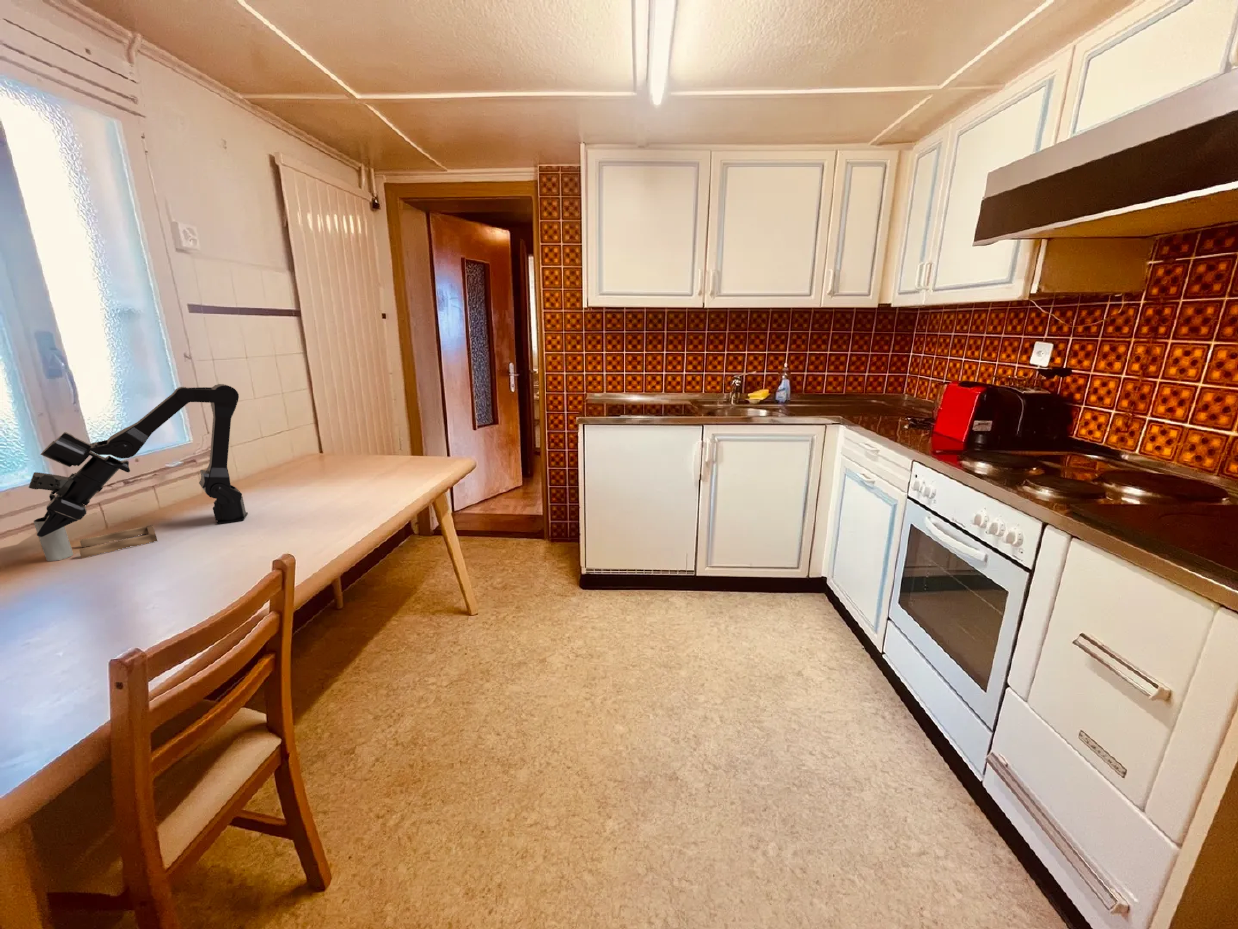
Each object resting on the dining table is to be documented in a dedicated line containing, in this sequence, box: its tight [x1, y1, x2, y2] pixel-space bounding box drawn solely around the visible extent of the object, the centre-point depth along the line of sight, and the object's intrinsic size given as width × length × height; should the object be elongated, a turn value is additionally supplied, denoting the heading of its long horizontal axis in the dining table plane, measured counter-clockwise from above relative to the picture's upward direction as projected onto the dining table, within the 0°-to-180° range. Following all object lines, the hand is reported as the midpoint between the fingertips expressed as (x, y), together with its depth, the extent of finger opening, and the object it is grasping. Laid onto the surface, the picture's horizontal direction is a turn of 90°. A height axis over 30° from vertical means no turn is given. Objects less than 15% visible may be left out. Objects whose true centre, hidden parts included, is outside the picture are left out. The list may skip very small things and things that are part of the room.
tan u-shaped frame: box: [78, 524, 158, 559], centre depth 131 cm, size 14×10×2 cm
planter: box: [33, 516, 74, 562], centre depth 122 cm, size 4×4×10 cm
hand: (40, 530), depth 121 cm, fingers open, 9 cm apart
